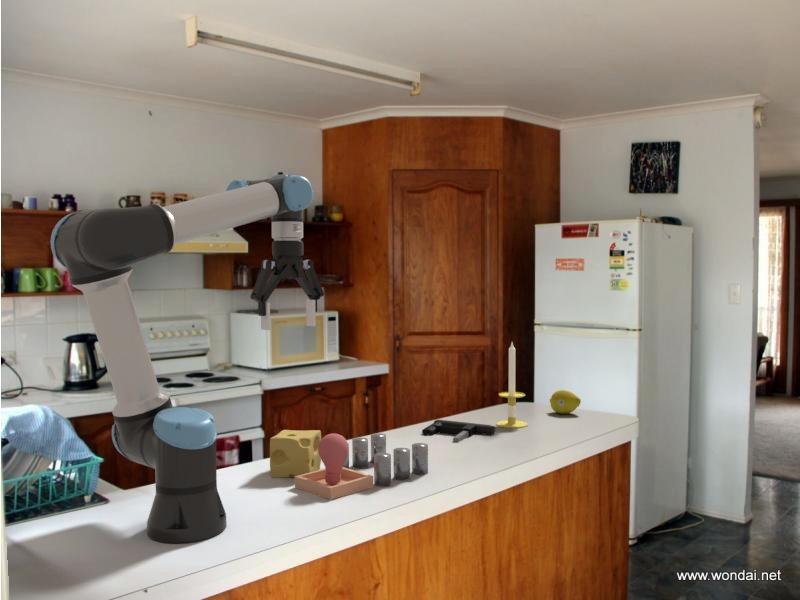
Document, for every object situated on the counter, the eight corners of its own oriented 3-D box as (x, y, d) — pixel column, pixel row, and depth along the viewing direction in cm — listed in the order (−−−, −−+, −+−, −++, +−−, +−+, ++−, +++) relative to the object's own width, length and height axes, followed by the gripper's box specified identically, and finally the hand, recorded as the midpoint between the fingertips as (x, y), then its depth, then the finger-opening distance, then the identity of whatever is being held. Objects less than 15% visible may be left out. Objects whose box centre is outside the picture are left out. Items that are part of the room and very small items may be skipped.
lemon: (544, 413, 257) (544, 390, 257) (556, 409, 263) (556, 387, 262) (572, 417, 250) (572, 394, 249) (584, 414, 255) (584, 390, 255)
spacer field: (382, 487, 175) (382, 458, 174) (329, 471, 188) (329, 444, 188) (431, 472, 187) (431, 444, 186) (378, 458, 200) (378, 432, 200)
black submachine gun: (477, 437, 215) (496, 423, 229) (414, 430, 224) (437, 417, 238) (477, 449, 215) (496, 433, 229) (414, 441, 224) (437, 427, 238)
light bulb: (355, 483, 176) (354, 433, 175) (333, 491, 170) (331, 439, 170) (335, 477, 180) (334, 428, 180) (312, 484, 175) (311, 434, 174)
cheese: (309, 480, 181) (309, 439, 181) (267, 477, 183) (267, 437, 183) (322, 468, 191) (322, 429, 191) (282, 466, 194) (282, 428, 193)
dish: (330, 499, 166) (330, 488, 166) (294, 487, 175) (294, 476, 175) (373, 486, 176) (373, 475, 175) (337, 475, 185) (337, 465, 184)
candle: (496, 420, 246) (496, 339, 244) (527, 421, 244) (527, 339, 243) (495, 427, 236) (496, 342, 234) (528, 428, 234) (528, 342, 233)
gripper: (253, 238, 169) (254, 332, 170) (337, 240, 187) (338, 325, 188) (234, 239, 174) (236, 330, 176) (318, 240, 192) (319, 323, 193)
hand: (288, 327), depth 182 cm, fingers open, 13 cm apart
